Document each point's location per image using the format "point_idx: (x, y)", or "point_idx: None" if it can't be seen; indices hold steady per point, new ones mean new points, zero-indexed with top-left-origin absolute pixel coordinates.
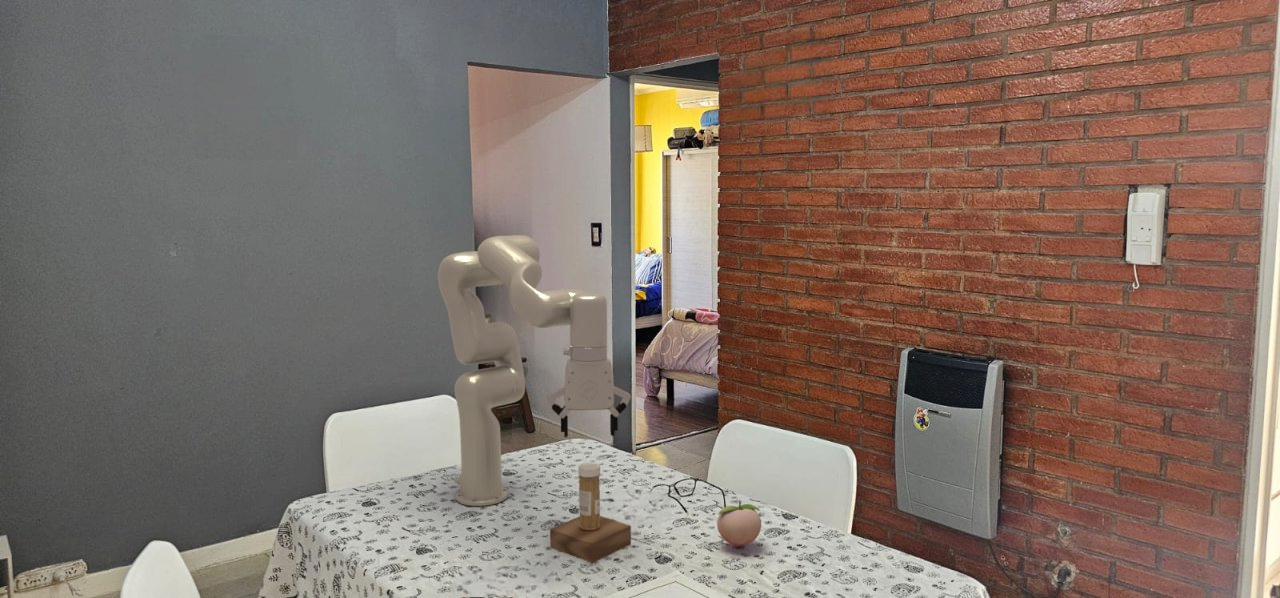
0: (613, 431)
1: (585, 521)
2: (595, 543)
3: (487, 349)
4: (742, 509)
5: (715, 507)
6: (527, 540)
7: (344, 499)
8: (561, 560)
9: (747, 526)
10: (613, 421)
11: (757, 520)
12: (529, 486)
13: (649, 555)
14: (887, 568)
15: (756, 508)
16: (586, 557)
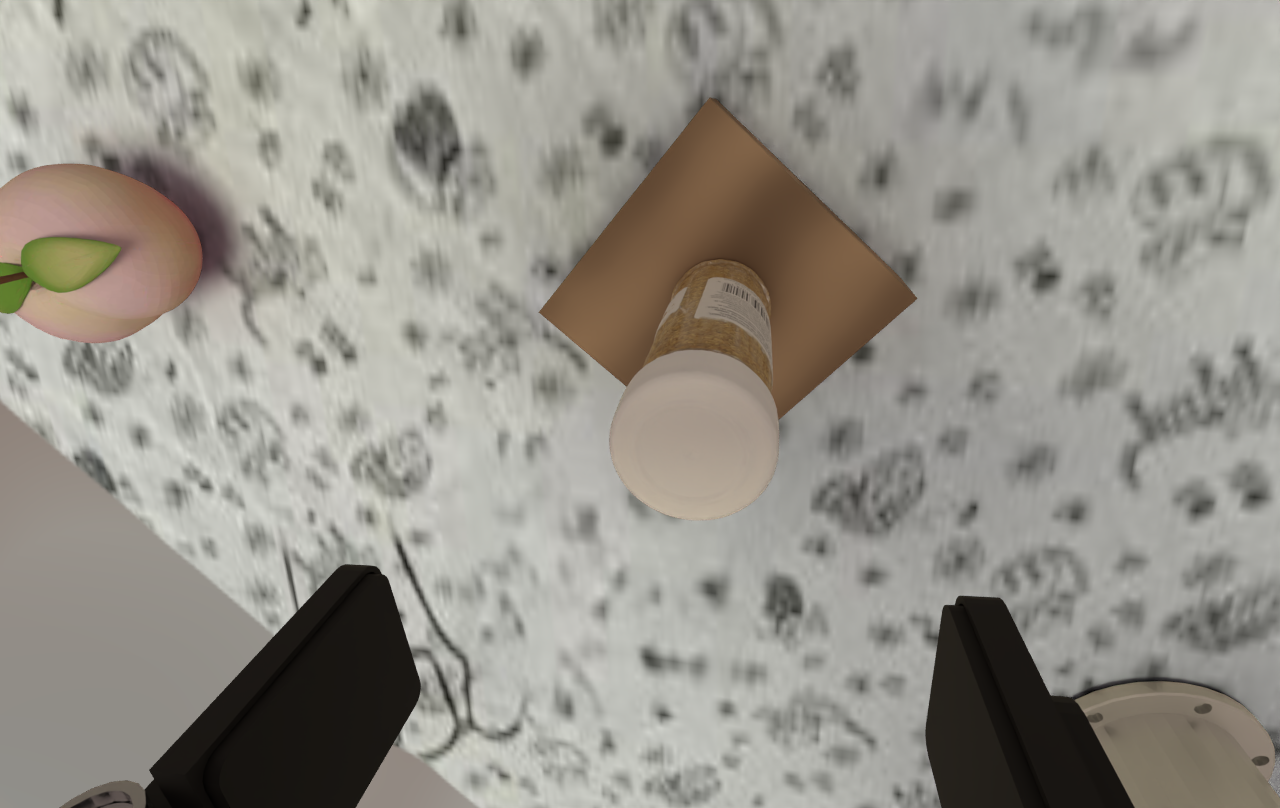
0: (322, 595)
1: (739, 275)
2: (693, 119)
3: None
4: (20, 269)
5: (313, 560)
6: (997, 353)
7: None
8: (855, 131)
9: (21, 173)
10: (221, 712)
11: None
12: (939, 799)
13: (483, 176)
14: None
15: None
16: (741, 124)
